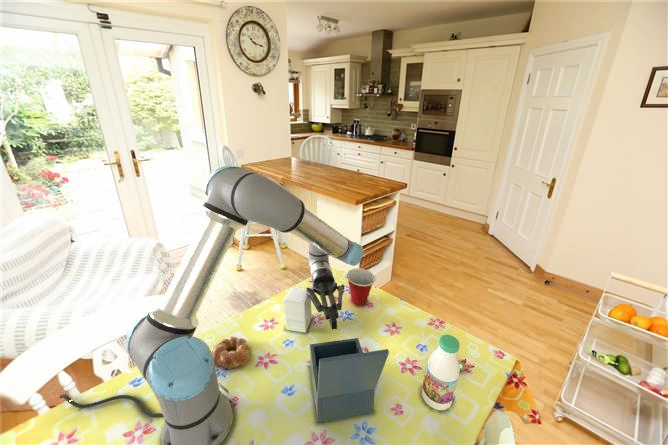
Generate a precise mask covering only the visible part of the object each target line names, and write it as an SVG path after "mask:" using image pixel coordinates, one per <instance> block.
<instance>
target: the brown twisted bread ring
mask: <svg viewBox="0 0 668 445" xmlns="http://www.w3.org/2000/svg"><path fill="white" fill-rule="evenodd" d="M250 349H251V348H250V345H249V344H247V340H246V339H245V338H243V337H237V336H229V337H227V338H223V339H221V340H219V341H218V342H217V343H216V344H215V346H214V347H213V349H212V351H211V353H212V356H213V358H214V366H215V367H222V368H225V369H226V370H227V369H228V370H232V369H235V368H237V367H238V366H243V365H245V364H246V363H247V362H248V361H249V359H250Z"/></svg>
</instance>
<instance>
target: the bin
mask: <svg viewBox="0 0 668 445" xmlns="http://www.w3.org/2000/svg"><path fill="white" fill-rule="evenodd" d="M357 353H364V352H363V349H362V346H361V342H360V339H359V337H355V338H354V337H353V338H347V339H338V340H331V341H323V342H317V343H310V344H309V361H310V362H309V366H310V367H309V368H310V374H311V383H312V390H313V397H314V405H315V413H316V421H317V423H323V422H327V421H332V420H338V419H345V418H350V417H355V416H361V415H367V414H372V413H373V411H374V402H375V392H376V389H371V390H365V391H359V392H353V393H347V394H341V395H335V396H329V397H323V398H317V389H318V374H319V359H322V358H329V357H336V356H343V355H350V354H357Z"/></svg>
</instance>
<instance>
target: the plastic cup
mask: <svg viewBox="0 0 668 445" xmlns="http://www.w3.org/2000/svg"><path fill="white" fill-rule="evenodd" d="M346 278H347V282H348V286H349V295H350V301H351V303H352V305H353V306H355V307H363V306H365V305H366V304H367V302H368V299H369V296H370V293H371V289H372V287H373V284H374V283H375V282H376V279H377V278H376V275H375V274H374V273H373V271H370V270H368V269H365V268H359V267H357V268H352V269H350V270H348V271H347V273H346Z"/></svg>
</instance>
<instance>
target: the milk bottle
mask: <svg viewBox="0 0 668 445" xmlns="http://www.w3.org/2000/svg"><path fill="white" fill-rule="evenodd" d="M460 345H461V344H460V341H459V340H458V339H457V338H456V337H455V336H453V335H451V334H442V335H441V336H439V338H438V343H437V348H436V349H435V350H434V351H433V352H432V353H431V354H430V356H429V358H428V360H427V363H426V367H425V371H424V378H423V382H422V386H421V396H422V399H423V400H424V402H425V403H426V404H427V405H428V406H429V407H430V408H432V409H434V410H436V411H437V410H438V411H445V410H447V409H449V408H450V407H451V406H452V404H453V401H454V400H453V399H454V397H455V392H456V389H457V384H458V381H459V377H460V372H461V371H460V366H459V359H458V355H457V354H458V353H459V349H460V347H461V346H460Z"/></svg>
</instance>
